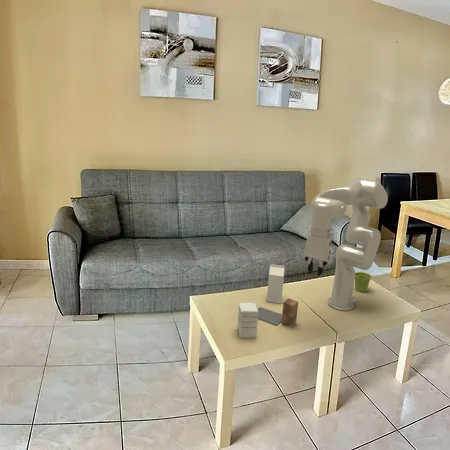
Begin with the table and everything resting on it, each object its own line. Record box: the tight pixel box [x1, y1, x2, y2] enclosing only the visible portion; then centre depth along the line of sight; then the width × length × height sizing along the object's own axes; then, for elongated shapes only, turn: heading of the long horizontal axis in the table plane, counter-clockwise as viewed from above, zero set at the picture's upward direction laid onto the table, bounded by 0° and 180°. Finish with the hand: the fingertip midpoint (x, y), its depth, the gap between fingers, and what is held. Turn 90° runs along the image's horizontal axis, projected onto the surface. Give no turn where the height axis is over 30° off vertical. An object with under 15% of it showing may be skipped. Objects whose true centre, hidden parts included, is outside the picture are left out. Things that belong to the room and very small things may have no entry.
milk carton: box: [266, 263, 286, 304], centre depth 194 cm, size 7×7×19 cm
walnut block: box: [280, 298, 299, 329], centre depth 173 cm, size 5×5×11 cm
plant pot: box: [354, 271, 373, 293], centre depth 212 cm, size 9×9×9 cm
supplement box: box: [236, 302, 259, 339], centre depth 164 cm, size 7×7×13 cm
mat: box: [257, 306, 282, 327], centre depth 180 cm, size 14×10×1 cm
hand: (314, 273), depth 163 cm, fingers open, 3 cm apart
